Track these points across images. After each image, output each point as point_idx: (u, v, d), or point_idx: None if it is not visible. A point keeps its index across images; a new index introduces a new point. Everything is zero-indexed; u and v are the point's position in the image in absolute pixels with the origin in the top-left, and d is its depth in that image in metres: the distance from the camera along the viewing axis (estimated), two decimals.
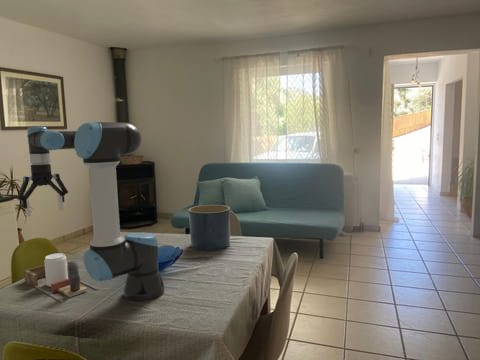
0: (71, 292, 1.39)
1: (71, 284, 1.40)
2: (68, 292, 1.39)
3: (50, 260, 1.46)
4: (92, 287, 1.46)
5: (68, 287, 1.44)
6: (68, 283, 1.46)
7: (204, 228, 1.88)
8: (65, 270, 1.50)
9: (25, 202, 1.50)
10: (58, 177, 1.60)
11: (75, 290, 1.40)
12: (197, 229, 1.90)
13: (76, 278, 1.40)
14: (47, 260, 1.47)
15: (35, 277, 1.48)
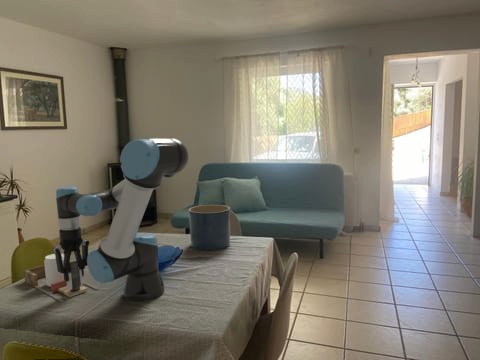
0: (71, 292, 1.39)
1: None
2: (68, 292, 1.39)
3: (50, 260, 1.46)
4: (92, 287, 1.46)
5: None
6: None
7: (204, 228, 1.88)
8: None
9: (67, 275, 1.38)
10: (87, 245, 1.43)
11: (75, 290, 1.40)
12: (197, 229, 1.90)
13: (76, 278, 1.40)
14: (47, 260, 1.47)
15: (35, 277, 1.48)
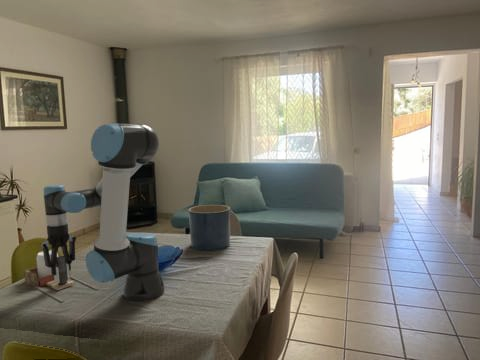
0: (58, 286, 1.46)
1: None
2: (56, 286, 1.46)
3: (42, 257, 1.51)
4: (92, 287, 1.46)
5: None
6: None
7: (204, 228, 1.88)
8: None
9: (54, 269, 1.45)
10: (74, 240, 1.50)
11: (62, 284, 1.47)
12: (197, 229, 1.90)
13: (64, 272, 1.47)
14: (39, 257, 1.51)
15: (35, 277, 1.48)
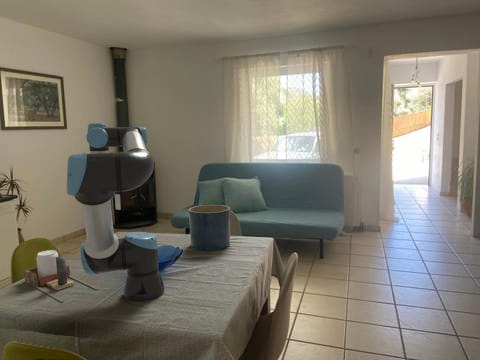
0: (58, 286, 1.46)
1: (58, 278, 1.46)
2: (56, 286, 1.46)
3: (42, 257, 1.51)
4: (92, 287, 1.46)
5: (56, 281, 1.51)
6: (56, 277, 1.53)
7: (204, 228, 1.88)
8: None
9: None
10: None
11: (62, 284, 1.47)
12: (197, 229, 1.90)
13: (63, 272, 1.47)
14: (39, 257, 1.51)
15: (35, 277, 1.48)
